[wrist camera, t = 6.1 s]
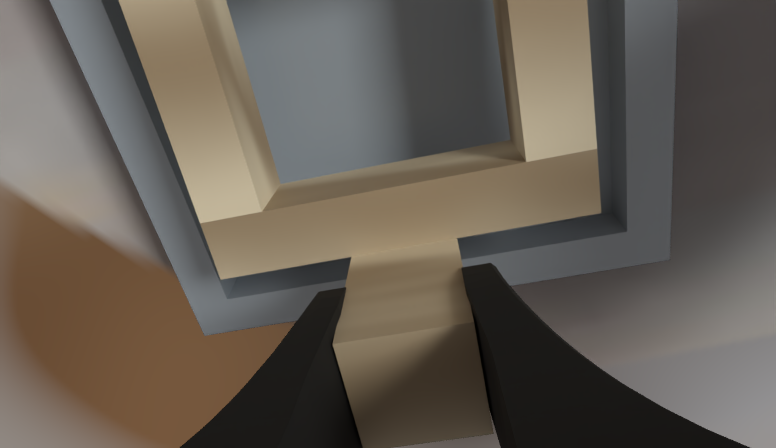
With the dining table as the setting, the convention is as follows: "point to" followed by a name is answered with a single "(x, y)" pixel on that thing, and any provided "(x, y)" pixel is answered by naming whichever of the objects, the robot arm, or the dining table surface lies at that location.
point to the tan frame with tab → (381, 202)
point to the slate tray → (395, 129)
